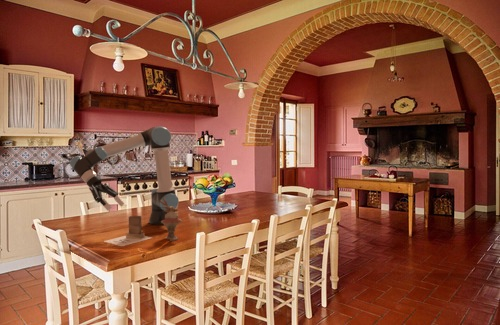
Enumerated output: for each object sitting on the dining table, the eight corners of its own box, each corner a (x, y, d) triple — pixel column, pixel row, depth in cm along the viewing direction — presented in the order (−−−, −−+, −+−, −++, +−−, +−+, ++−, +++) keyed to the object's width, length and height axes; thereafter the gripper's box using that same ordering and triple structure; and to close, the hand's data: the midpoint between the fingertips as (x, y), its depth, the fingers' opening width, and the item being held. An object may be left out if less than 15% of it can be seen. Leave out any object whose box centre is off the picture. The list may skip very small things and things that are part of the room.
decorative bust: (171, 232, 206) (171, 192, 201) (184, 239, 198) (184, 197, 192) (155, 237, 198) (154, 195, 193) (168, 245, 190) (167, 201, 184)
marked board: (134, 235, 203) (134, 233, 203) (152, 239, 194) (152, 237, 194) (103, 243, 187) (103, 241, 187) (121, 248, 178) (121, 246, 178)
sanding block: (129, 236, 197) (129, 215, 196) (144, 237, 195) (144, 216, 195) (126, 238, 193) (125, 216, 192) (141, 239, 191) (140, 217, 191)
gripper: (100, 181, 209) (123, 207, 208) (73, 186, 185) (99, 215, 183) (108, 173, 208) (131, 199, 207) (82, 176, 184) (108, 206, 182)
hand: (116, 207), depth 195 cm, fingers open, 13 cm apart
